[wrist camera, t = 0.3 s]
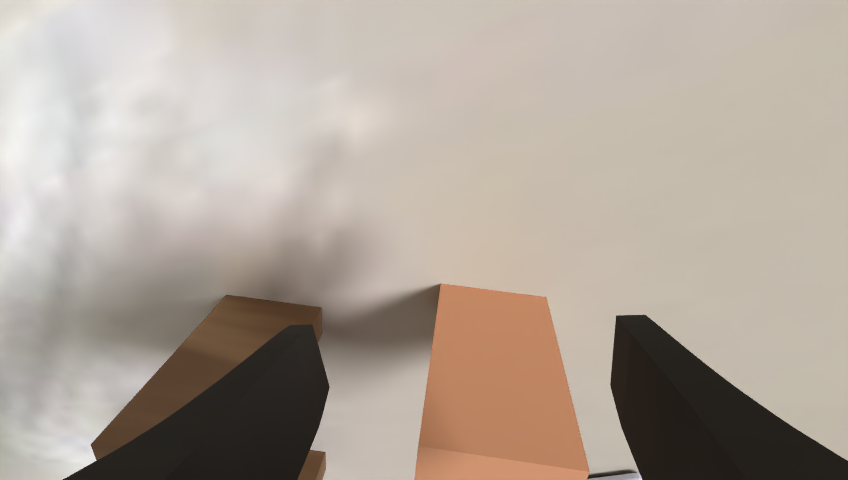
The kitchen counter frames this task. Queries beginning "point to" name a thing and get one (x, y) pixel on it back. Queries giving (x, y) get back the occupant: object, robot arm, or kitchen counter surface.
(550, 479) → the end domino
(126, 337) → the kitchen counter surface
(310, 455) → the domino
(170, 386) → the domino
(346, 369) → the kitchen counter surface
